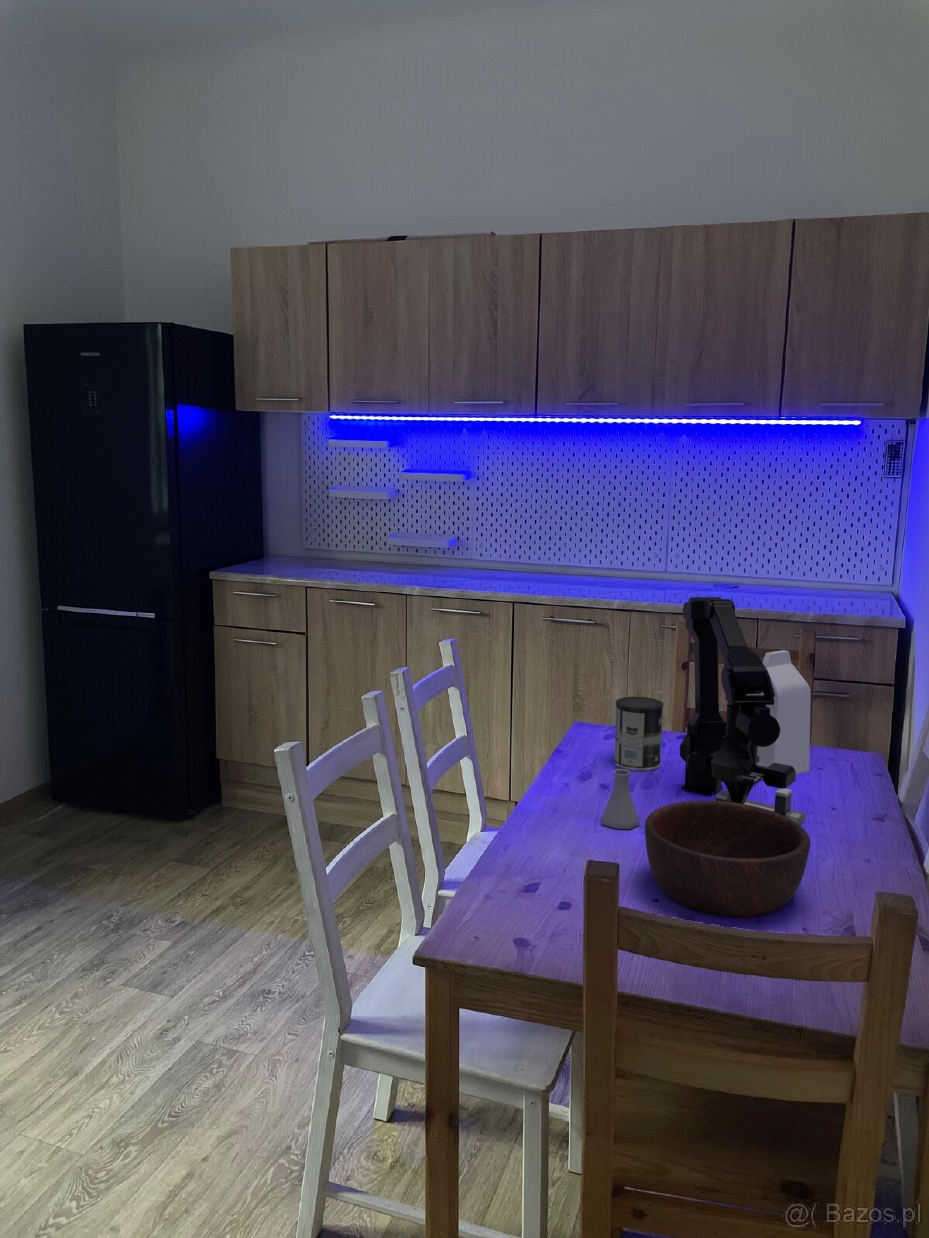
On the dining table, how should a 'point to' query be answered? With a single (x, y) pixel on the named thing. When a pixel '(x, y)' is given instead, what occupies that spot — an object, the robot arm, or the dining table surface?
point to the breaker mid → (723, 796)
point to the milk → (788, 714)
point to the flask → (620, 804)
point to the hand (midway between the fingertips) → (737, 812)
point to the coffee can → (638, 733)
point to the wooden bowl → (726, 856)
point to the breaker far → (783, 801)
